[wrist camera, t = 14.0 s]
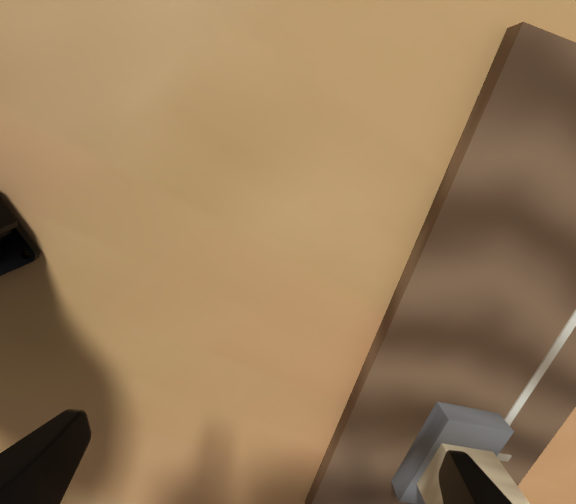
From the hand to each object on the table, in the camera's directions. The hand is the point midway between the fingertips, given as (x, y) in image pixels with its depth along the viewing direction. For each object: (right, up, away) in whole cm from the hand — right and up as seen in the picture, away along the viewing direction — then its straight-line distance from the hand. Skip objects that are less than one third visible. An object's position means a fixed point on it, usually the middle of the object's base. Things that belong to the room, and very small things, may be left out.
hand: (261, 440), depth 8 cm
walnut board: (+14, -2, +14) cm, 20 cm away
